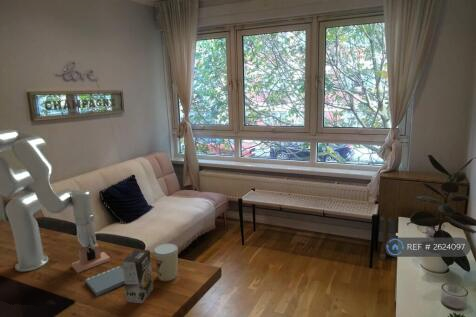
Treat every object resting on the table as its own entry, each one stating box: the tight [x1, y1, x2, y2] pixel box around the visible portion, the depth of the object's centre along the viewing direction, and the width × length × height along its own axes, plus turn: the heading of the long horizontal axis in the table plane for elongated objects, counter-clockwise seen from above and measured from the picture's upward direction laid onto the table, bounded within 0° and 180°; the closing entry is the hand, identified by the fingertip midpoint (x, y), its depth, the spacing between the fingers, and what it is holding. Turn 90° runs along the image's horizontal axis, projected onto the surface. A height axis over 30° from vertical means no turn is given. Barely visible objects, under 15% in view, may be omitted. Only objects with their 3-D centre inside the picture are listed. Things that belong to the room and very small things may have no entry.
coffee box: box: [122, 249, 154, 304], centre depth 120 cm, size 9×6×16 cm
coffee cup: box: [153, 242, 179, 282], centre depth 132 cm, size 9×9×12 cm
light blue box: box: [85, 265, 125, 297], centre depth 130 cm, size 12×14×2 cm
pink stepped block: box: [71, 242, 111, 274], centre depth 144 cm, size 7×14×8 cm, turn 133°
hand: (90, 257), depth 145 cm, fingers closed on pink stepped block, 3 cm apart
